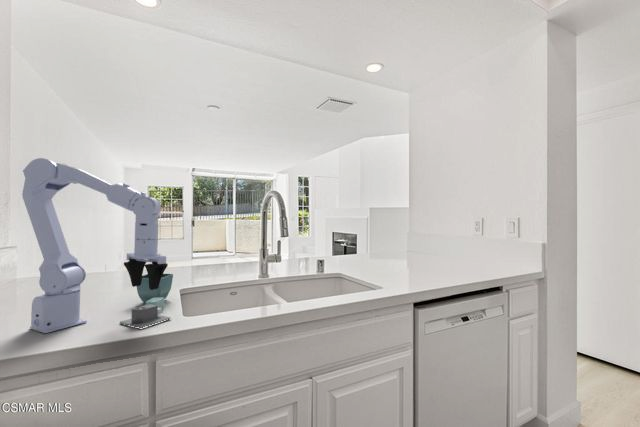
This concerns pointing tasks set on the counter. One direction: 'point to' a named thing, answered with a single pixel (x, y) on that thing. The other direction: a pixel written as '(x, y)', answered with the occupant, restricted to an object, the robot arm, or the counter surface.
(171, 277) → the flower pot
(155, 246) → the robot arm
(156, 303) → the teal plug
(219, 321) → the counter surface
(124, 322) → the coaster
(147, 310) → the white-capped grey post
